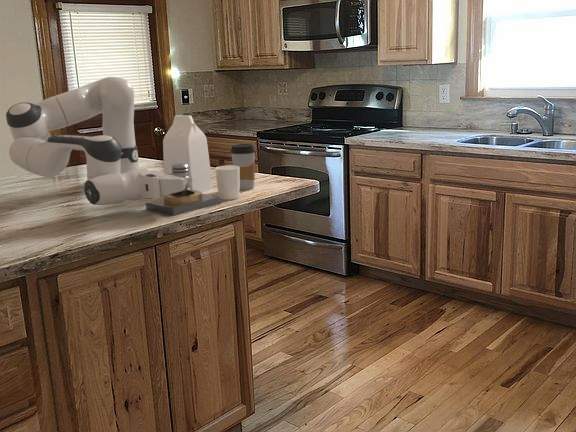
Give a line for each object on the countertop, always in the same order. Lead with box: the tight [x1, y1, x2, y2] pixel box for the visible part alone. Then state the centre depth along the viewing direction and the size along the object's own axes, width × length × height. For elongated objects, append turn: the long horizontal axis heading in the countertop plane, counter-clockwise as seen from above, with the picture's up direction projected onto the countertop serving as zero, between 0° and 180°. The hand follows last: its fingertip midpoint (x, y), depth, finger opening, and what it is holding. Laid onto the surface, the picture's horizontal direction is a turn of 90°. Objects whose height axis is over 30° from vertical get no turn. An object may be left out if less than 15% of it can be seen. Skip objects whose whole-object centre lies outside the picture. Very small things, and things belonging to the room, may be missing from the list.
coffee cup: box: [230, 143, 256, 191], centre depth 213 cm, size 8×8×15 cm
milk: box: [162, 114, 214, 194], centre depth 210 cm, size 12×12×26 cm
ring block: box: [145, 189, 221, 216], centre depth 192 cm, size 18×14×4 cm
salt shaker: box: [172, 163, 191, 196], centre depth 191 cm, size 5×5×11 cm
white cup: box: [214, 164, 241, 201], centre depth 200 cm, size 8×8×10 cm
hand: (183, 177), depth 191 cm, fingers open, 8 cm apart
